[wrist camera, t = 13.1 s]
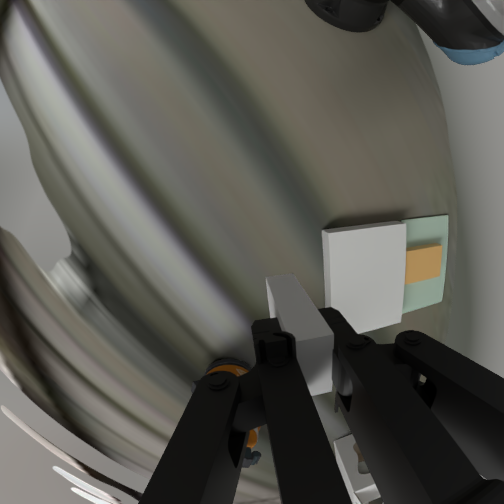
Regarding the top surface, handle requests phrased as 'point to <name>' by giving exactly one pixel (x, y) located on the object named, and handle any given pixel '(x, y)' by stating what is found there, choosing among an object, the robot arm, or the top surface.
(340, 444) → the gable box
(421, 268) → the light orange flat block
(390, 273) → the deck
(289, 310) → the robot arm
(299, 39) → the top surface
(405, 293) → the mat
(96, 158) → the top surface
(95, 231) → the top surface
